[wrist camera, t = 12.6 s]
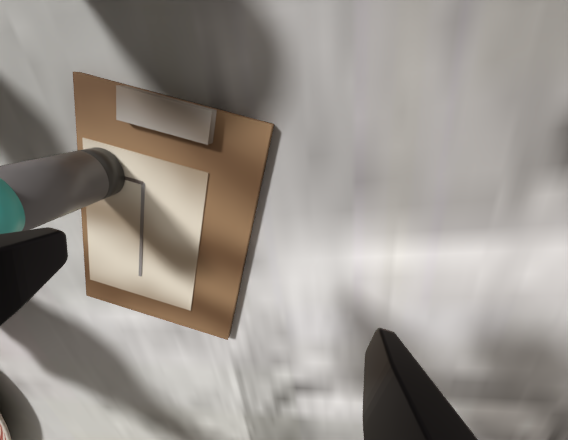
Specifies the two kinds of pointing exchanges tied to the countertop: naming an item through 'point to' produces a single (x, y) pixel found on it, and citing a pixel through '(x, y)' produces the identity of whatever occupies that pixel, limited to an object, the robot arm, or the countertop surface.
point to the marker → (56, 186)
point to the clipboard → (170, 202)
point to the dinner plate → (4, 430)
